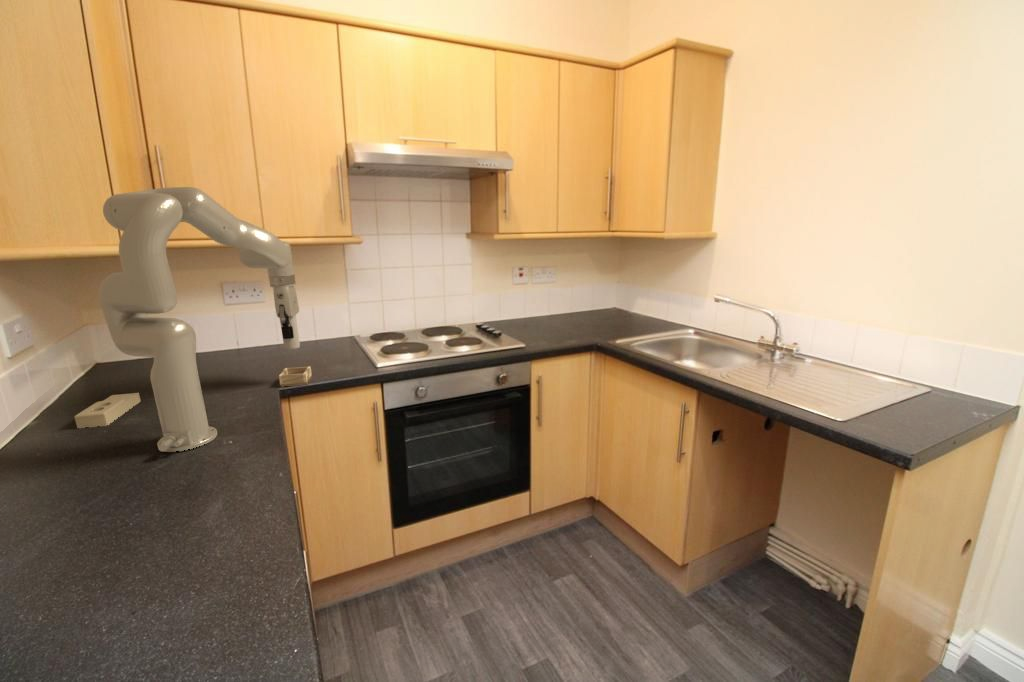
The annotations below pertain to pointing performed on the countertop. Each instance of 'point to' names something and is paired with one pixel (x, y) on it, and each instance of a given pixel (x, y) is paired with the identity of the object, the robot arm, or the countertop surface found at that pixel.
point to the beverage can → (294, 342)
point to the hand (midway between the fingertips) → (290, 335)
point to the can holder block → (295, 376)
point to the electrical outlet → (106, 410)
